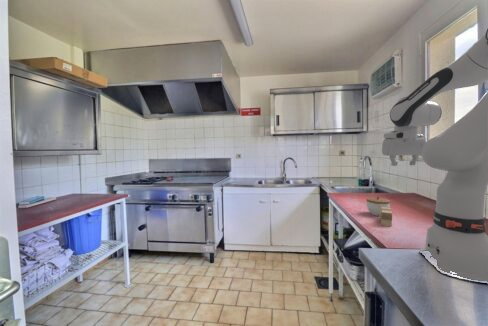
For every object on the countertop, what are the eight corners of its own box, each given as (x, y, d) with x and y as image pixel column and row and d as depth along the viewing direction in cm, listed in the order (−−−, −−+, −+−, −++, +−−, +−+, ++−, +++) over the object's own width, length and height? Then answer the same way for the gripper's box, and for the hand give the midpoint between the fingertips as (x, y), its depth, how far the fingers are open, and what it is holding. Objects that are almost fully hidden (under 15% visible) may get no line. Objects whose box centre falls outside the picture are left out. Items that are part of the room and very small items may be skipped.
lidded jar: (392, 217, 121) (393, 199, 120) (369, 216, 123) (370, 198, 122) (385, 212, 131) (385, 194, 130) (363, 210, 133) (364, 194, 133)
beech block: (391, 226, 108) (392, 213, 107) (381, 225, 110) (381, 212, 109) (390, 219, 118) (390, 207, 118) (380, 218, 120) (381, 206, 120)
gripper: (419, 134, 113) (417, 164, 114) (380, 134, 109) (378, 165, 111) (431, 134, 107) (429, 165, 108) (391, 134, 103) (389, 166, 105)
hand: (403, 165), depth 109 cm, fingers open, 8 cm apart
